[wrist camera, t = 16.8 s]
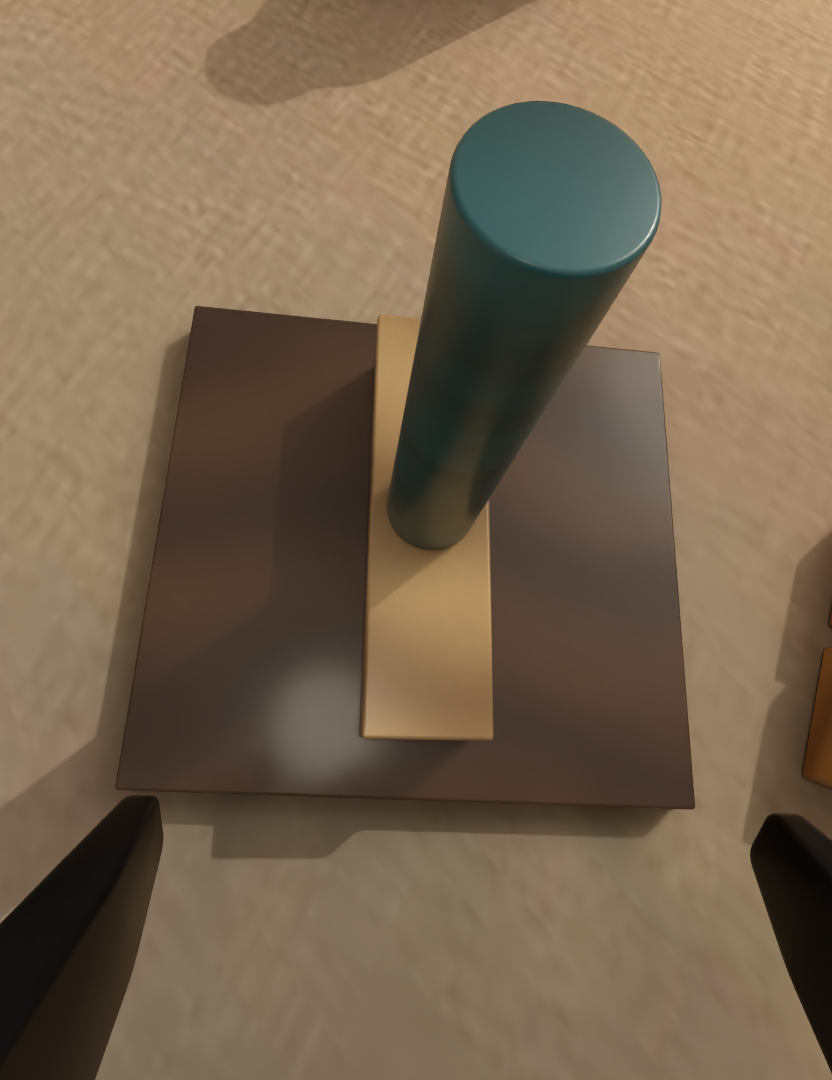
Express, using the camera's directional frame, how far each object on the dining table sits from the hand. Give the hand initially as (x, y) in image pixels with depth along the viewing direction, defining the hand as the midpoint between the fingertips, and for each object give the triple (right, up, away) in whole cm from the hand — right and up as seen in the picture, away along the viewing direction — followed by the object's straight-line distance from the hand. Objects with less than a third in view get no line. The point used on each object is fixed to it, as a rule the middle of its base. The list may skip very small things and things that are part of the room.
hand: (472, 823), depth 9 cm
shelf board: (-1, +4, +10) cm, 11 cm away
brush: (-1, +4, +9) cm, 10 cm away
